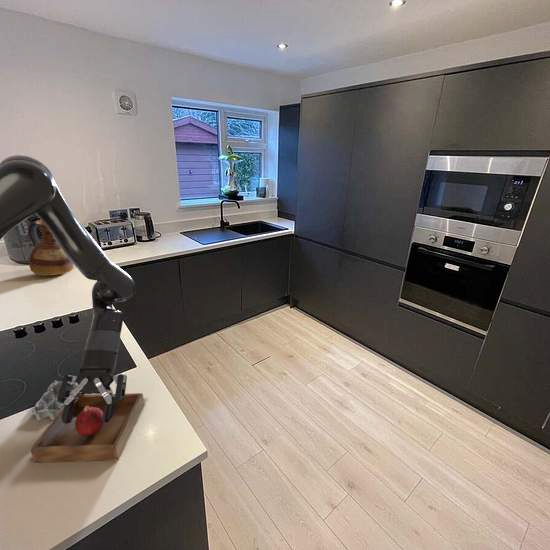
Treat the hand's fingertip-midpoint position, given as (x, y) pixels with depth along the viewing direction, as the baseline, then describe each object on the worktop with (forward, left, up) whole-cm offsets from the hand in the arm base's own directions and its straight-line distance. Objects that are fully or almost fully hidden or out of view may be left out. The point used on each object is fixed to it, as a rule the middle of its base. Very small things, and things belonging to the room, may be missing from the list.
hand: (86, 422), depth 66 cm
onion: (0, +1, -5) cm, 5 cm away
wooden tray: (0, +2, -5) cm, 6 cm away
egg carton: (-14, +11, -5) cm, 18 cm away
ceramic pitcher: (-76, +107, -5) cm, 132 cm away
